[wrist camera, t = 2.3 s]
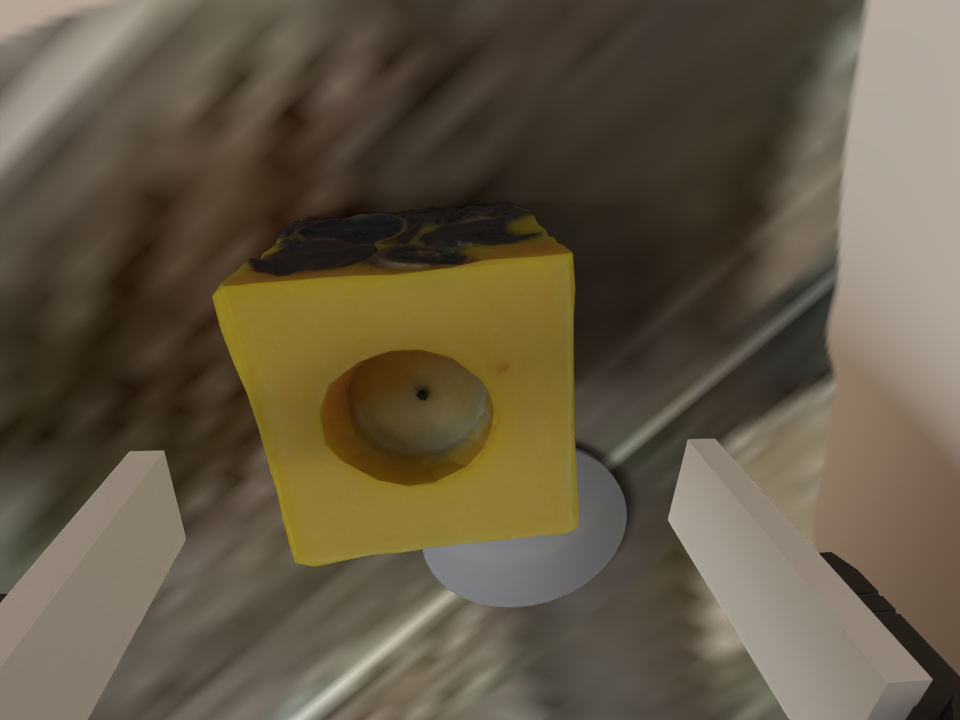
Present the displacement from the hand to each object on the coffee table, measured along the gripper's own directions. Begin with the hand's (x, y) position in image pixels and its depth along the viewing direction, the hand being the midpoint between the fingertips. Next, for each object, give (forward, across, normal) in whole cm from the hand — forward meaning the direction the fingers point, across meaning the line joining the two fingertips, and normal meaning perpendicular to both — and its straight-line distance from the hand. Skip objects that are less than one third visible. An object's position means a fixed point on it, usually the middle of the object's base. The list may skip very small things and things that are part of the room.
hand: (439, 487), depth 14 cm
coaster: (+12, +6, -13) cm, 19 cm away
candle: (+13, 0, 0) cm, 13 cm away
